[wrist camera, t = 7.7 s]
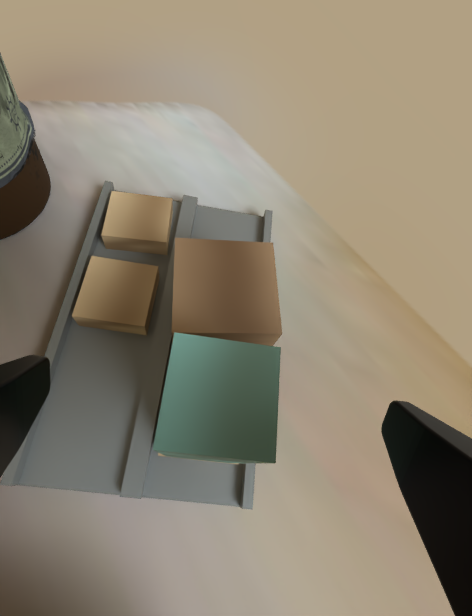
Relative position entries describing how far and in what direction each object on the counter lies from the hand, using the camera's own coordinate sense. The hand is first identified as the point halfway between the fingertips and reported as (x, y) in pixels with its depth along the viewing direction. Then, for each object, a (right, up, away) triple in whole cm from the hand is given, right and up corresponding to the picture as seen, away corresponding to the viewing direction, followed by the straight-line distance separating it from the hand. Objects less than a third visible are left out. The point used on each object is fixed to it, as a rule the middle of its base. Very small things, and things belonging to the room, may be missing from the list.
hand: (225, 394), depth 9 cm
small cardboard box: (-6, +8, +15) cm, 18 cm away
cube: (-1, +1, +11) cm, 11 cm away
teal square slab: (-1, -1, +12) cm, 12 cm away
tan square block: (-7, +3, +12) cm, 14 cm away
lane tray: (-4, +1, +13) cm, 14 cm away
